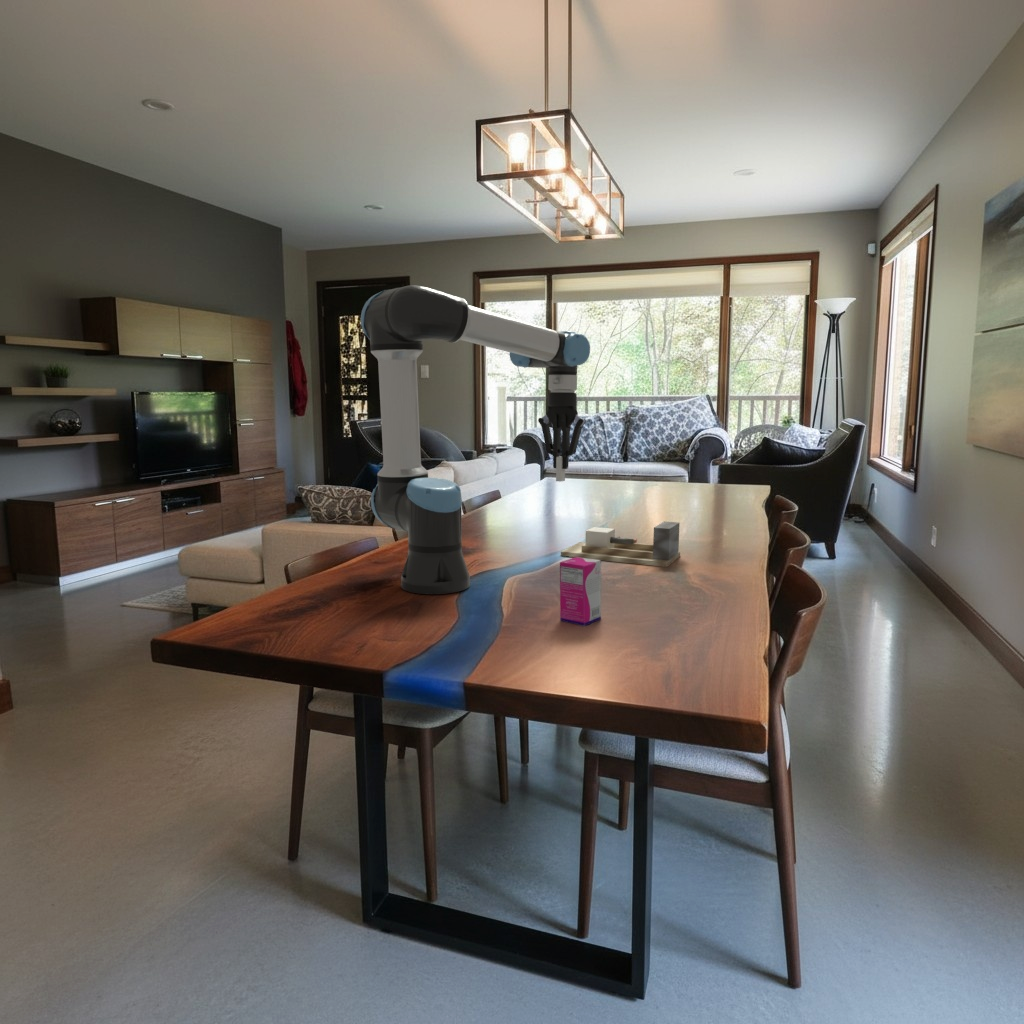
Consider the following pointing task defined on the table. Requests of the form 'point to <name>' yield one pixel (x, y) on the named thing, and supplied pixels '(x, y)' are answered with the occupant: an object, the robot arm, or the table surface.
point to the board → (636, 549)
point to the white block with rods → (605, 538)
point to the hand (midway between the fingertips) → (560, 480)
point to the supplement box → (580, 590)
